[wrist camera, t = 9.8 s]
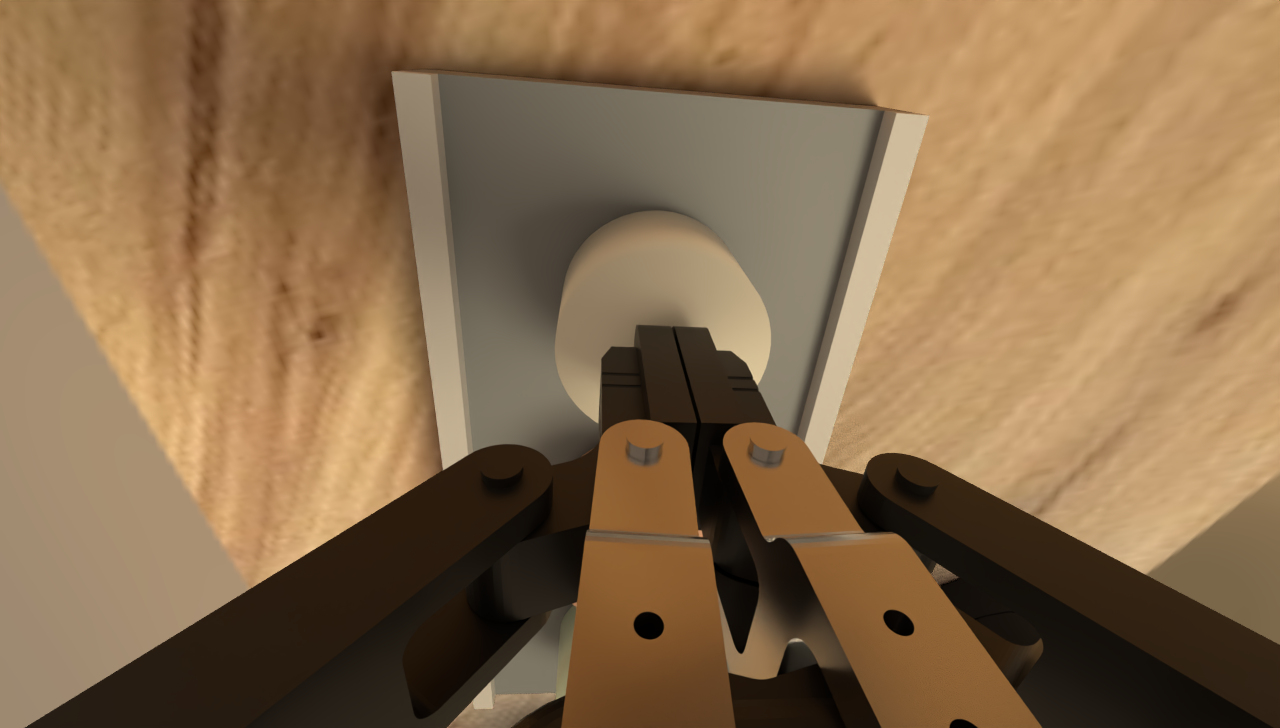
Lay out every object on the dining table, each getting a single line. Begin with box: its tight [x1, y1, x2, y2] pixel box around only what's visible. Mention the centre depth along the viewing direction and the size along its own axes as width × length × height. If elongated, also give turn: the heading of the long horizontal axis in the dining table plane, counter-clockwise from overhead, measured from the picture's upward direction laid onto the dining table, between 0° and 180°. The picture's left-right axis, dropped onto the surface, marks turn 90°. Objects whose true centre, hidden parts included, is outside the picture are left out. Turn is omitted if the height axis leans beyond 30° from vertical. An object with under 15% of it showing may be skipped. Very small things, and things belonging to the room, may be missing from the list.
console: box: [391, 69, 929, 709], centre depth 19 cm, size 24×12×3 cm, turn 176°
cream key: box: [555, 210, 771, 423], centre depth 13 cm, size 5×5×3 cm
